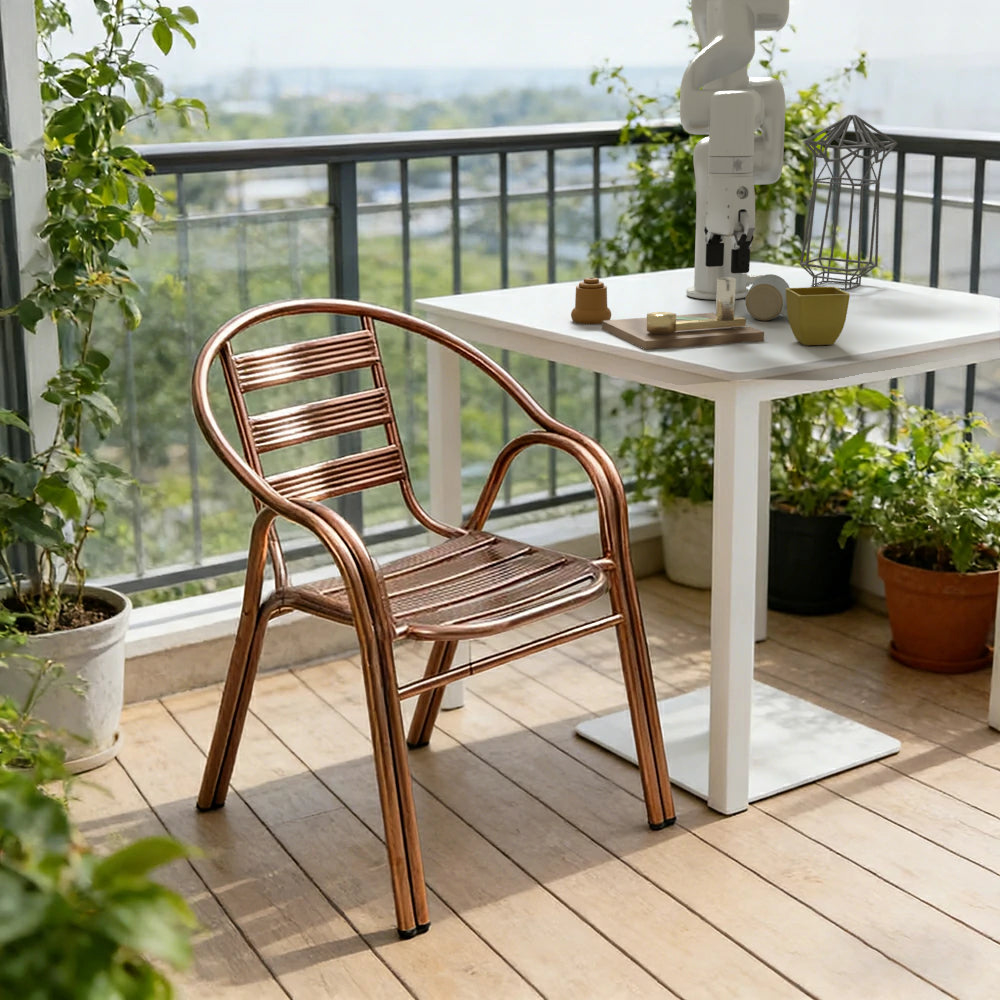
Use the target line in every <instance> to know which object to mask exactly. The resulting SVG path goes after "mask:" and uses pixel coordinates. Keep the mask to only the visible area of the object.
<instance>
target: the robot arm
mask: <svg viewBox="0 0 1000 1000" xmlns="http://www.w3.org/2000/svg"><path fill="white" fill-rule="evenodd" d="M690 7H691V18H692V21H693V24H694V25H693V26H694V29H695V31H696V35H697V37H698V40H699V42H700V45H701V51H700V52H698V54H696V55H695V56H694V58H693V59H692V60H691V61H690V63H689V64H687V65H688V66H687V67H686V68H685V70H684V72H683V76H682V79H681V81H680V82H681V83H680V96H679V97H680V99H679V116H680V124H681V127H682V129H683V130H684V131H685V132H687V133H688V134H690V135H706V137H704V138H701V139H700V140H699V141H698V142H697V143H696V144H695V146H694V149H693V158H692V161H693V169H694V170H693V171H694V178H695V179H694V180H695V191H696V193H695V194H696V196H695V197H696V200H695V201H696V210H695V212H696V214H695V243H694V245H695V246H694V247H695V249H694V277H693V278H694V281H693V284H694V285H693V286H690V287H688V288H687V289H686V290H685V291H686V296H688V297H690V298H695V299H700V300H714V301H715V300H716V297H717V278H723V277H729V278H735V279H736V290H735V300H737V299H744V298H746V295H747V293H748V291H749V289H748V288H747V287H749V288H750V287H751V286H752V285H753V283H754V282H755V281H756V280H757V279H758V278H759V277H761V276H764V275H763V274H755V275H752V274H748V273H750V264H751V263H750V262H751V249H752V247H753V246H752V245H753V244H752V242H753V240H754V234H755V231H756V230H755V229H756V195H755V194H756V193H755V185H758V186H759V185H760V186H761V185H771V184H775V183H776V182H777V181H779V179H780V178H781V176H782V173H783V167H784V154H785V153H784V149H785V146H784V145H785V125H786V95H785V93H786V92H785V90H784V89H785V88H784V86H783V84H782V82H781V81H780V80H778V79H777V78H774V77H770V76H768V77H767V76H765V77H763V76H760V77H758V76H756V77H755V76H754V77H753V76H749V74H748V65H749V64H750V62H751V61H752V60H753V59H754V58H753V57H754V55H755V52H756V40H755V39H756V35H755V34H756V33H755V32H763V31H764V32H765V31H767V32H769V31H779V30H780V31H781V30H783V28H784V27H785V26H786V24H787V22H788V19H789V14H790V0H690ZM758 130H759V131H760V132H761V134H759V135H758V134H755V132H757V131H758ZM707 135H708V136H707ZM750 285H751V286H750Z"/></svg>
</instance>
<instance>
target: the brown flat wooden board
mask: <svg viewBox="0 0 1000 1000" xmlns="http://www.w3.org/2000/svg"><path fill="white" fill-rule="evenodd" d="M705 319H716V312H706V313H692V314H678V315H677V314H676V322H678V321H691V320H705ZM601 329H602V330H603V331H605V332H607V333H609V334H611V335H614V336H615V335H616V337H617V338H620V339H622V340H624V341H626V340H627V341H626V342H628V341H629V342H628V343H630V342H631V343H630V344H632V343H633V344H632V345H634V344H635V345H634V346H636V345H637V346H636V347H638V346H640V347H642V348H641V349H643V348H644V349H643V350H645V349H651V350H656V349H655V348H664V349H673V348H684V347H685V348H686V347H687V348H688V347H698V346H701V347H702V346H711V345H724V344H736V343H738V344H739V343H750V342H761V341H762V342H763V341H764V340H765V332H764V331H763V330H760V329H757V328H755V327H752V326H749V325H747V324H746V326H734V327H721V328H708V329H695V330H681V331H676V332H673V333H665V334H658V333H650V332H647V317H638V318H635V317H634V318H622V319H610V320H606V321H602V324H601ZM640 347H639V348H640ZM653 348H654V349H653Z"/></svg>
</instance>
